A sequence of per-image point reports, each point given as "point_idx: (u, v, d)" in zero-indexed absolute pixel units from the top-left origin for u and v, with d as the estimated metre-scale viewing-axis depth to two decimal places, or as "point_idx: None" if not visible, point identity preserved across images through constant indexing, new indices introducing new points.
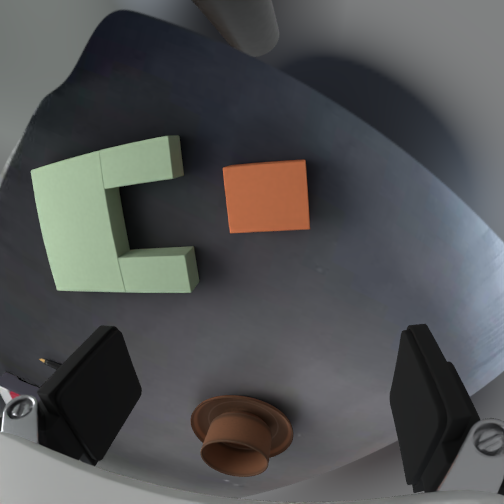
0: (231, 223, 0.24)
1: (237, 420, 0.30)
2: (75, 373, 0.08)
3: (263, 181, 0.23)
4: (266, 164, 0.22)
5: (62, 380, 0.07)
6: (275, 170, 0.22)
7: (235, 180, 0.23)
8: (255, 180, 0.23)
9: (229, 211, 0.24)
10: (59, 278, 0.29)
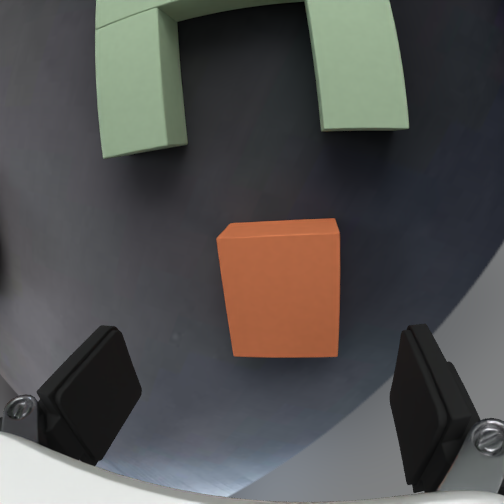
0: (234, 242, 0.13)
1: None
2: (75, 373, 0.08)
3: (310, 300, 0.13)
4: (338, 305, 0.13)
5: (62, 380, 0.07)
6: (327, 318, 0.14)
7: (313, 253, 0.13)
8: (312, 287, 0.13)
9: (256, 239, 0.13)
10: None
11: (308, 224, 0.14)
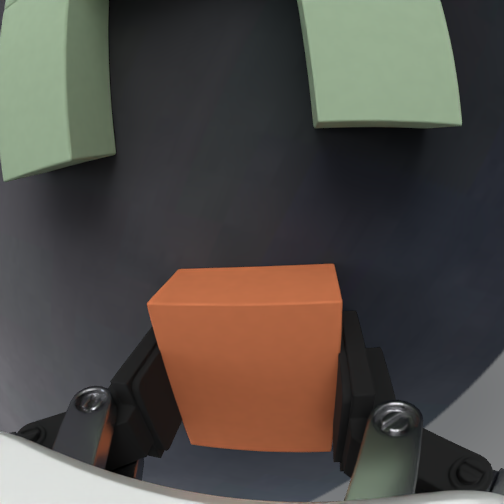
0: (173, 310, 0.08)
1: None
2: (149, 360, 0.08)
3: (293, 392, 0.08)
4: (334, 398, 0.08)
5: (138, 367, 0.08)
6: (318, 413, 0.09)
7: (298, 332, 0.08)
8: (296, 376, 0.08)
9: (206, 309, 0.08)
10: None
11: (292, 278, 0.09)
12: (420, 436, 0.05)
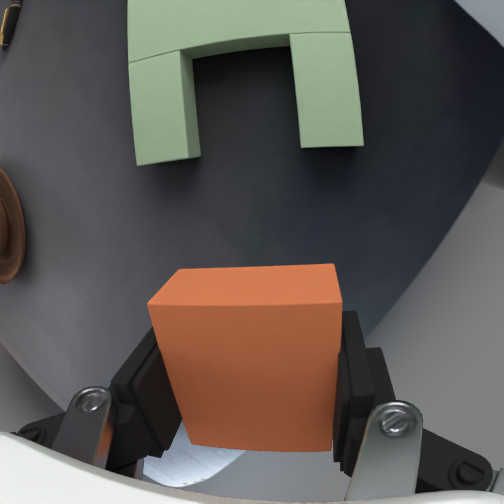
0: (173, 310, 0.08)
1: None
2: (149, 360, 0.08)
3: (292, 392, 0.08)
4: (334, 398, 0.08)
5: (138, 367, 0.08)
6: (319, 412, 0.09)
7: (298, 332, 0.08)
8: (296, 376, 0.08)
9: (206, 309, 0.08)
10: None
11: (292, 278, 0.09)
12: (420, 436, 0.05)
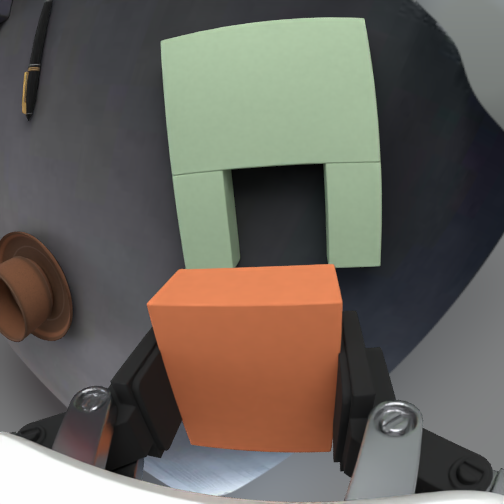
0: (173, 311, 0.08)
1: (42, 297, 0.25)
2: (149, 360, 0.08)
3: (292, 392, 0.08)
4: (334, 398, 0.08)
5: (138, 367, 0.08)
6: (318, 413, 0.09)
7: (298, 332, 0.08)
8: (296, 376, 0.08)
9: (206, 310, 0.08)
10: (180, 48, 0.17)
11: (292, 278, 0.09)
12: (420, 436, 0.05)
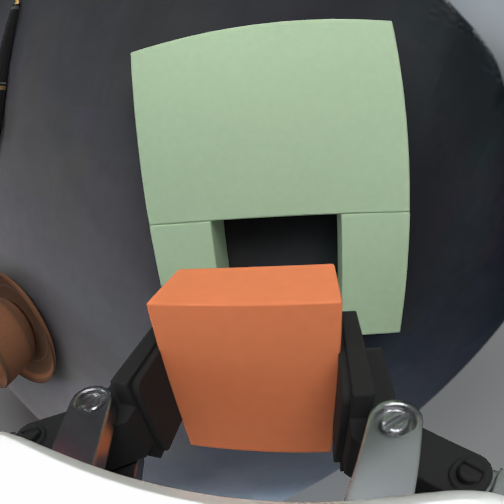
0: (173, 311, 0.08)
1: (23, 344, 0.21)
2: (149, 360, 0.08)
3: (293, 392, 0.08)
4: (334, 398, 0.08)
5: (138, 367, 0.08)
6: (318, 413, 0.09)
7: (299, 332, 0.08)
8: (296, 376, 0.08)
9: (206, 310, 0.08)
10: (155, 61, 0.13)
11: (292, 278, 0.09)
12: (420, 436, 0.05)
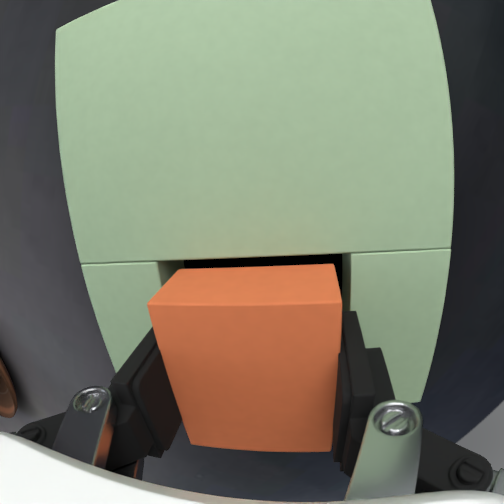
0: (173, 310, 0.08)
1: None
2: (149, 360, 0.08)
3: (292, 392, 0.08)
4: (334, 398, 0.08)
5: (138, 367, 0.08)
6: (318, 412, 0.09)
7: (298, 331, 0.08)
8: (296, 376, 0.08)
9: (206, 309, 0.08)
10: (82, 36, 0.08)
11: (292, 278, 0.09)
12: (420, 436, 0.05)
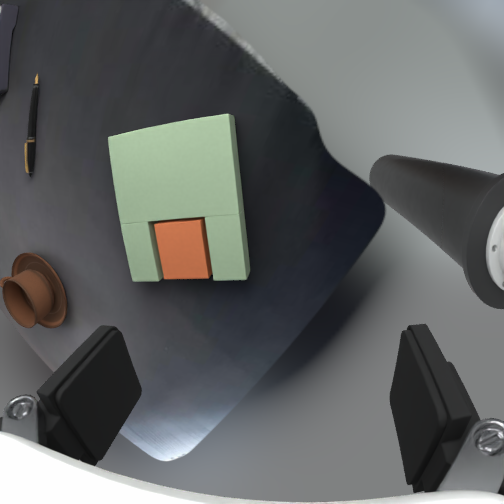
0: (160, 225, 0.31)
1: (47, 297, 0.37)
2: (75, 373, 0.08)
3: (192, 250, 0.32)
4: (204, 252, 0.32)
5: (62, 380, 0.07)
6: (200, 258, 0.32)
7: (190, 229, 0.31)
8: (192, 244, 0.31)
9: (169, 224, 0.31)
10: (119, 143, 0.29)
11: (192, 218, 0.32)
12: None
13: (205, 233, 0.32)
